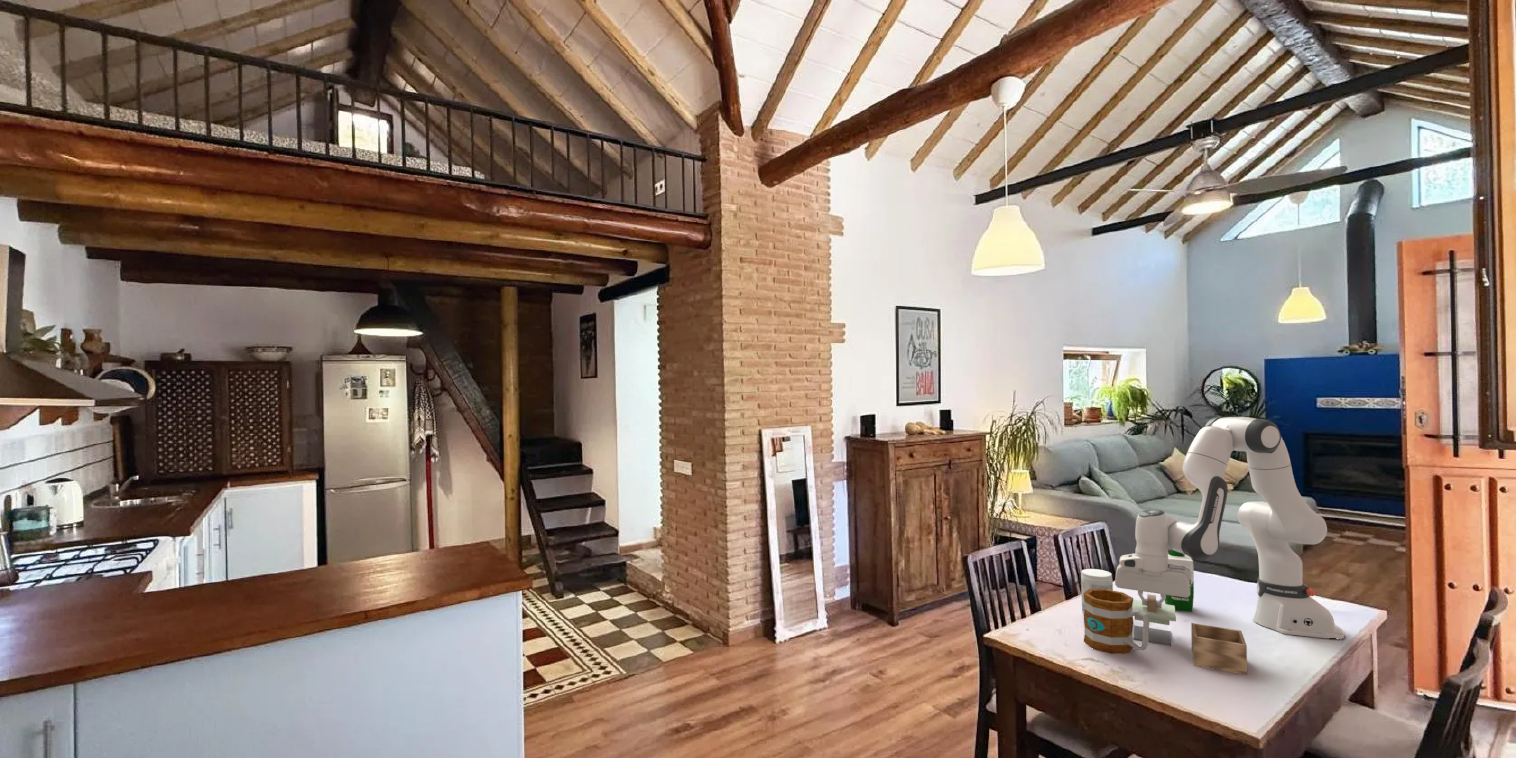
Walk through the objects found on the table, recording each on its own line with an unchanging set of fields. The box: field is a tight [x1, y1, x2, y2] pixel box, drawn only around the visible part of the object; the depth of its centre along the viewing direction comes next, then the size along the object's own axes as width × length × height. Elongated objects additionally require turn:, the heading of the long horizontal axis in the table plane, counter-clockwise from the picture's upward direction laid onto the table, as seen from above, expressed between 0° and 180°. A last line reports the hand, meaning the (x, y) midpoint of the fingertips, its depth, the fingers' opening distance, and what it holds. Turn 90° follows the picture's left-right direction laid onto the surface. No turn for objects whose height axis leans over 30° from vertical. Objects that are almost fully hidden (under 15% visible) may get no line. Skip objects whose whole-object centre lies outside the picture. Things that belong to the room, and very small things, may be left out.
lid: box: [1132, 593, 1177, 626], centre depth 204 cm, size 12×12×6 cm
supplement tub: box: [1080, 568, 1114, 615], centre depth 222 cm, size 10×10×15 cm
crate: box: [1190, 622, 1248, 676], centre depth 185 cm, size 12×12×8 cm
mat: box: [1132, 624, 1173, 647], centre depth 204 cm, size 10×12×1 cm
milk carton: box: [1164, 550, 1195, 613], centre depth 228 cm, size 9×9×20 cm
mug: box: [1083, 589, 1150, 655], centre depth 195 cm, size 20×14×15 cm
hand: (1151, 606), depth 204 cm, fingers closed on lid, 2 cm apart
